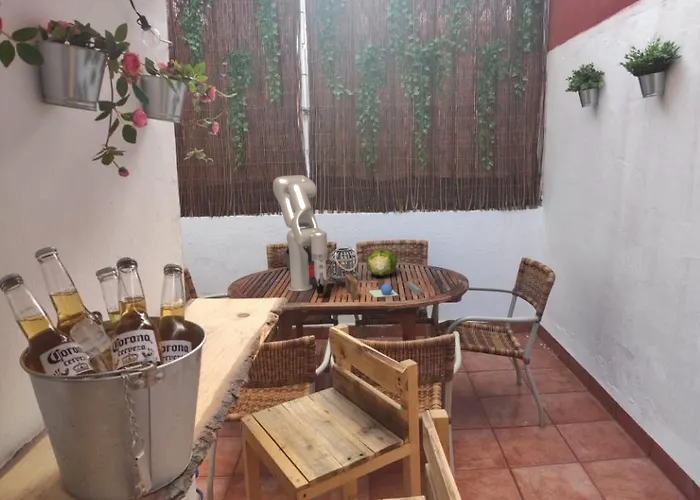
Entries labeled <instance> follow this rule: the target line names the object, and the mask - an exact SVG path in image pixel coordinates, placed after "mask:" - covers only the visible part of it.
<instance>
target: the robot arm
mask: <svg viewBox="0 0 700 500" xmlns="http://www.w3.org/2000/svg"><path fill="white" fill-rule="evenodd" d="M272 190H273V195H274V196H275V198H276V200H277V201H278V204H279V206H280V210H281V215H282V216H283V217H282V218H283V221H284V223H285V226H286V227H287V228H290V230H289V231H288V232H287V234H286V241H287V242H286V243H287V247H289V255H290V271H289V272H290V285H288V290H289V291H291V292H305V291H310V290H312V289H313V284H310V278H309V267H308V254H307V252H306V251H305V250H304V249H303V247H305V248H306V247H307V246H311V251H312V260H313V266H314V274H315V277H314V278H315V280H316V294H318V295H319V294H320V295H321V294H324V291H325V290H324V288H325V287H324V281H326V282H327V280H328V277H327V275H328V274H327V262H326V261H328V236H327V235H328V234H327V232H326V231H324V230H321V228H319V227H318V224H317V220H316V217H315V214H314V212H313V211H312V205H311V202H310V198H314V197H316V195H317V192H318V190H317V186H316V184H315V182H313V180H311V179H310V178H308V177H307V176H305V175H303V174H300V175H299V174H296V175H294V174H293V175H281V176H278V177H276V178H275V179H273V183H272Z"/></svg>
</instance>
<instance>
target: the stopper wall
mask: <svg viewBox="0 0 700 500" xmlns="http://www.w3.org/2000/svg"><path fill="white" fill-rule="evenodd" d="M406 287H407V288H408V289H410V291H411V292H413V293H415V294H416V296H418V295H419V296H420V295H422V290H421V288H419V286H417V285H416V284H414V283H413V282H412V281H406Z"/></svg>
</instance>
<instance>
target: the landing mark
mask: <svg viewBox="0 0 700 500" xmlns="http://www.w3.org/2000/svg"><path fill="white" fill-rule="evenodd" d="M368 292H369V294H371V296H373V298H383V297H393V296H399V294H398V293H397V292H395V291H394V290H393V289H392V292H391V294H389V295H384V294H383V293H382V292H381V289H375V290H373V289H372V290H368Z"/></svg>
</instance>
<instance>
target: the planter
mask: <svg viewBox="0 0 700 500" xmlns="http://www.w3.org/2000/svg"><path fill="white" fill-rule="evenodd" d="M303 249H304V250H305V251H306V252H307V254H308V265H313V264H314V261H313V260H312V251H311V246H305V247H303ZM282 258H283V260H284V262H285V264H286V267H287V269H288V270H289V272H290V255H289V247H288V246H287V247H286V248H285V250H284V252H283V254H282Z"/></svg>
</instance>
